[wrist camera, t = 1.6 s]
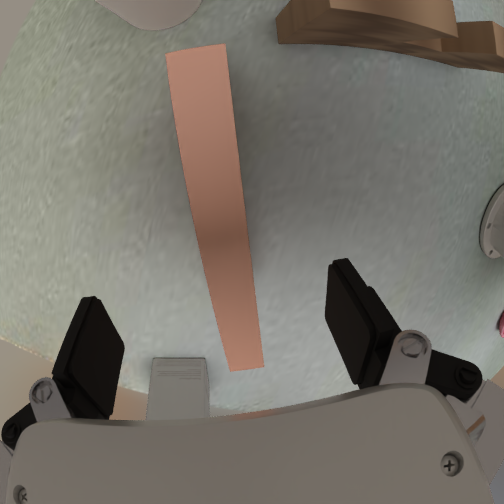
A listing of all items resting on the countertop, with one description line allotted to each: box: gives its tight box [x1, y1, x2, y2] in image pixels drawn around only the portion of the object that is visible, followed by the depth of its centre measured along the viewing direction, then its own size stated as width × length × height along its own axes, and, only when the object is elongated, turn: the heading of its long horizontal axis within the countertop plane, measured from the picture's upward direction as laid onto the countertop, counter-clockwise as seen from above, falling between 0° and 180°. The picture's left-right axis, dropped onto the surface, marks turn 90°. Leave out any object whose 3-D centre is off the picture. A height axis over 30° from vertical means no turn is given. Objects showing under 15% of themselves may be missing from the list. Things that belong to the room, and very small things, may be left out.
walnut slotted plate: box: [276, 0, 504, 73], centre depth 14 cm, size 20×2×12 cm, turn 96°
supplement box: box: [146, 358, 210, 420], centre depth 33 cm, size 7×7×13 cm
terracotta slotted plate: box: [165, 44, 264, 372], centre depth 20 cm, size 20×2×12 cm, turn 6°
